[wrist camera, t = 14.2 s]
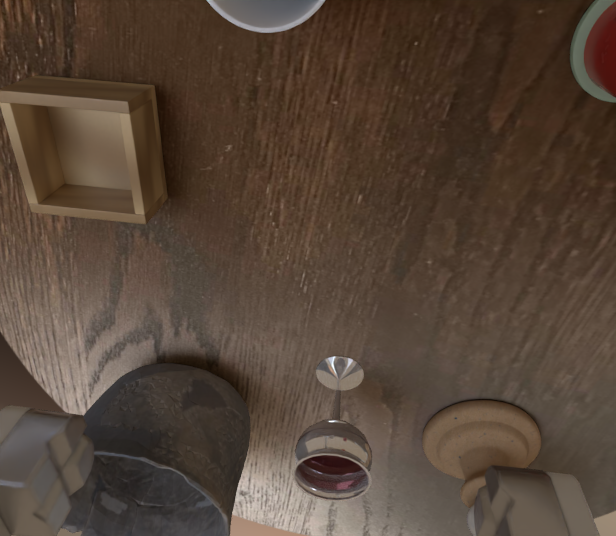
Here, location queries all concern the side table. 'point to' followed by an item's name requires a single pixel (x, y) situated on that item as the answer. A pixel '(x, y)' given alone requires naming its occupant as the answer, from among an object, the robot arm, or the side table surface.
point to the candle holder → (479, 443)
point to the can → (602, 51)
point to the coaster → (578, 45)
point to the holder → (87, 147)
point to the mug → (266, 13)
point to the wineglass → (334, 443)
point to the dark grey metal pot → (163, 455)
